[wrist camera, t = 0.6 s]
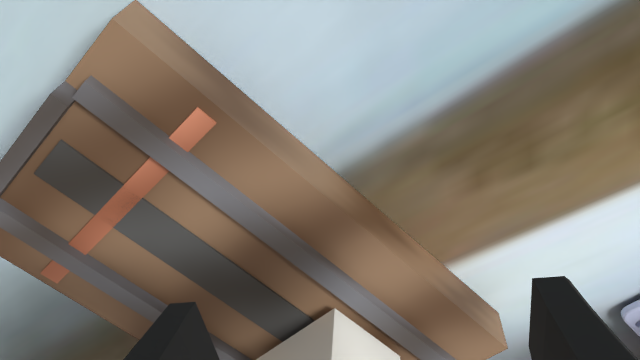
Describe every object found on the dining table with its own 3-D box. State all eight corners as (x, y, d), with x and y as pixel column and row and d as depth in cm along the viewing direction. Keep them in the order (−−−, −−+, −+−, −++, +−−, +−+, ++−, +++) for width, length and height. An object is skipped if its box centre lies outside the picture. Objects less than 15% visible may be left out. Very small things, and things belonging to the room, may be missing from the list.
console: (498, 312, 25) (513, 368, 22) (317, 411, 30) (313, 464, 28) (135, -1, 18) (98, 29, 15) (-17, 199, 23) (-62, 245, 21)
